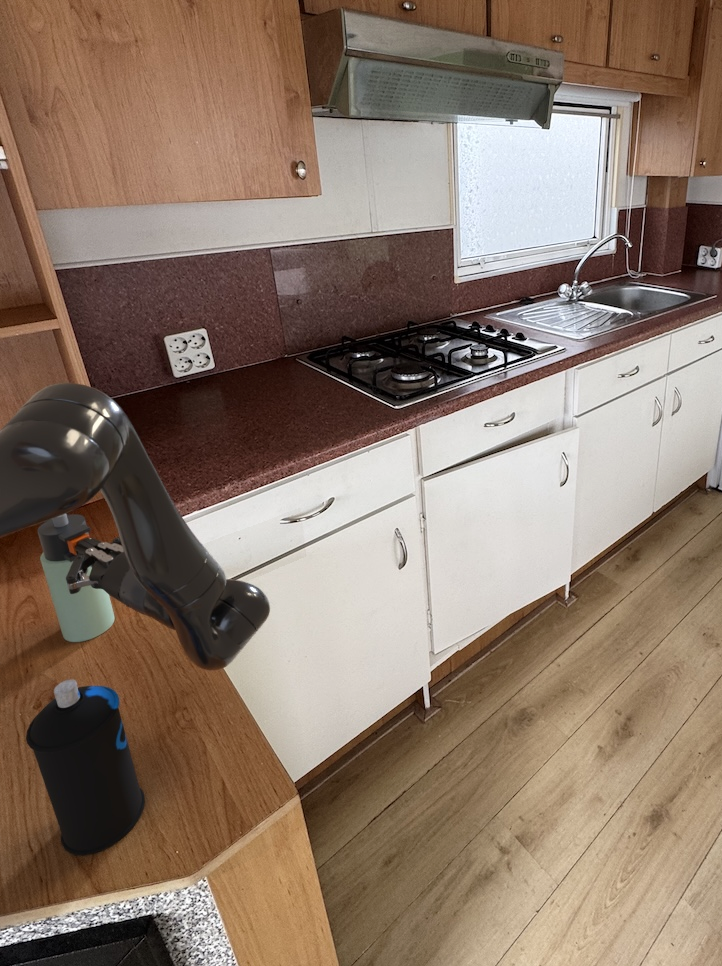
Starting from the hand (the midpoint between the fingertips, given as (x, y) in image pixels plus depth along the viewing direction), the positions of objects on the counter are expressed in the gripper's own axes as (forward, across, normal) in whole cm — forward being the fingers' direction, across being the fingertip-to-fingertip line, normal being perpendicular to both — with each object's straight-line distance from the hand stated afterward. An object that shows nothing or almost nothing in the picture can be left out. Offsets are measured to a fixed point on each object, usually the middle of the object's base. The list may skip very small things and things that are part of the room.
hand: (82, 545), depth 88 cm
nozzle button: (+1, 0, +1) cm, 1 cm away
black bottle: (-30, +16, +18) cm, 38 cm away
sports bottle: (+5, 0, +18) cm, 18 cm away
